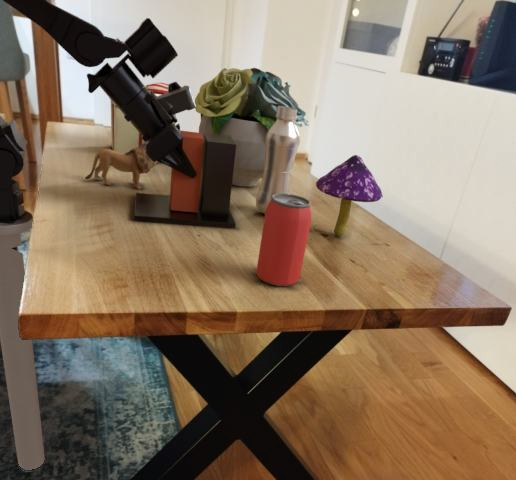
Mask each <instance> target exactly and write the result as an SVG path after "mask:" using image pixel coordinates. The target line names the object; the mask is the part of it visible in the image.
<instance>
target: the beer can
mask: <svg viewBox="0 0 516 480" xmlns="http://www.w3.org/2000/svg"><path fill="white" fill-rule="evenodd" d="M311 205H312V202H311V201H310V200H309V199H307V198H305V197H304V196H301V195H296V194H293V193H289V194H274V195H273V196H272V197H271V201H270V203H269V205H268V206H267V209H266V212H265V214H264V220H263V227H262V231H261V239H260V245H259V253H258V258H257V259H258V260H257V265H256V271H255V273H256V275H257V277H258V278H259V279H260V281H262V282H264V283H266V284H269V285H271V286H275V287H276V286H277V287H291V286H294V285H295V284H297V283H298V282H299V281H300V278H301V274H302V268H303V263H304V260H305V254H306V248H307V244H308V238H309V235H310V229H311V224H312V210H311Z"/></svg>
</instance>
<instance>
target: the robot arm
mask: <svg viewBox="0 0 516 480" xmlns="http://www.w3.org/2000/svg"><path fill="white" fill-rule="evenodd" d="M2 1H3V2H4V3H6V4H7V5H9V6H10V7H12V8H13V9H15V10H16V11H17V12H19V13H20V14H22V15H23V16H24V17H26V18H28V19H29V20H30V21H31V22H33V23H34V24H36V25H38V26H39V27H40V28H41V29H43V30H44V31H45V33H47V34H48V35H49V36H50V37H51V38H52V39H53V40H54V41H55V42H56V44H58V46H59V47H61V48H62V49H63V50H64V51H65V52H66V53H67V54H68V55H70V56H71V58H73V59H74V61H76V62H77V63H78V64H80V65H81V66H83V67H87V68H95V67H98V66H100V65H101V64H103V63H104V61H105V60H106V59H118V58H121V57H122V56H123V55H124V54H125V53H126V52H127V54H126V55H124V56H123V57H122V58H121V59H120V60H119V61H118V62H117V63H116V64H115V65H114V66H113V67H112V66H111V64H110V63H108V62H106V63H105V64H104V65H103V66H101V68H100V69H99V70H98V71H96V72H95V73H87V74H86V78H87V82H88V89H87V91H88V93H89V94H94V92H95V91H96V90H98V88H99V87H100V89H102V91H103V92H104V93H105V94H106V96H107V97H108V99H109V100H110V99H111V100H112V101H113V102H114V103H115V105H116V106H117V107H118V108H119V109H120V110H121V112H122V113H123V114H124V118H125V119H126V120H127V121H128V122H129V121H130V122H131V123H132V125H133V126H134V127H135V128H136V129H137V130H138V132H139V133H140V134H141V135H142V137H141V138H142V139H143V140H144V141H145V142H146V154H147V155H148V156H149V157H150V158H151V160H152V161H153V162H155V161H157V163H161V164H163V165H165V166H167V167H169V168H171V169H172V168H173V169H175V170H177V171H179V172H181V173H183V174H185V175H187V176H189V177H191V178H194V177H196V176H197V173H196V171H195V169H194V168H193V166H192V164H191V162H190V161H189V159H188V157H187V155H186V154H185V152H184V150H183V148H182V146H183V135H182V134H181V133H180V131H181V126H180V123H177V122H179V121H178V118H177V116H176V117H175V116H174V114H176V115H177V114H180V113H182V112H185V111H192V110H194V109H195V107H196V106H195V103H194V101H195V99H194V97H193V94H192V90H191V88H190V86H189V85H183V86H181V85H180V84H179V83H178V82H177V81H173V82H170V83H167V84H168V92H167V93H164V94H162V95H160V96H156V95H155V94H154V93H153V91H151V92H150V90H149V91H148V89H147V88H146V87H145V86H146V85H145V84H144V83H143V81H142V80H141V79H140V78H139V77H138V75H137V74H136V73H135V72H134V71H133V70H132V68H131V66H129V64H128V63H127V61H128V60H129V62H130V63H131V64H132V66H134V68H135V69H136V70H137V72H138V73H139V74H140V75H141V77H142V78H143V79H144V78H145V77H149V76H150V77H151V78H152V79H154V78H156V77H157V76H158V75H159V74H160V73H161V72H162V71H163V70H164V69H165V68H166V67H167V66H169V64H171V63H172V61H174V60H175V59H176V58H177V57H178V55H179V54H178V52H177V51H176V49H175V48H174V46H173V45H172V43H171V42H170V40H169V39H168V38H167V37H166V35H164V34H163V33H162V32H161V30H159V28H158V27H157V26H156V25H155V24H154V22H153V21H152V19H151V18H149V17H146V18H145V19H144V20H143V21H142V22H141V23H140V25H139V26H138V27H137V28H136V30H135V31H133V32H132V34H130V35H129V36H128V37H127V38H126V39H125V40H124V41H123V40H120V38H119V37H116V38H113V37H109V36H105V35H104V34H103V32H102V30H100V29H99V27H97V26H96V25H94V24H92V23H91V22H89V21H86V20H85V19H83V18H80V17H79V16H77V15H75V14H73V13H71V12H69V11H67V10H65V9H63V8H61V7H59V6H57V5H55V4H53V3H52V2H50V1H49V0H2ZM144 85H145V86H144ZM111 100H110V101H111ZM173 122H175V125H174V124H172V123H173ZM176 123H177V124H176ZM179 130H180V131H179ZM27 144H28V141H27V139H25V138H24V137H23V135H22V134H21V132H20V130H19V127H18V124H17V122H16V120H15V119H14V118H12V119H11V120H8V121H6V120H5V119H4V118H3V117H2V116H1V115H0V223H7V224H13V223H15V222H16V221H17V220H18V219H20V218H21V217H22V216H23V215H25V214H26V211H27V210H26V208H25V206H24V205H23V204H24V203H25V202H24V192H23V190H20V181H19V180H16V179H15V180H14V179H13V178H15V177H16V176H18V175H20V173H21V172H22V171H23V169H24V166H25V163H26V161H27V160H26V159H27V157H28V151H27V148H26V146H27ZM25 210H26V211H25Z"/></svg>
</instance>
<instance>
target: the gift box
mask: <svg viewBox="0 0 516 480" xmlns="http://www.w3.org/2000/svg"><path fill="white" fill-rule="evenodd" d="M168 84H169V83H165V82H154V83H150V84H144V86H145V87H146V88H147V89H148V91H149V90H150V92H151V91H153V93H154V94H155V95H156V96H160V95H162V94H164V93H167V92H168ZM109 100H110V143H111V144H110V146H111V148H112V149H111V150H113V151H115V152H118V153H127V152H129V151H130V150H132V149H133V148H136V147H139V146H140V145H142V144H143V143H144V142H145V141H144V140H143V139H142V138H141V137H142V135H141V134H140V133H139V132H138V130H137V129H136V128H135V127H134V126H133V125H132V123H131V122H130V121H129V122H128V121H127V120H126V119H125V118H124V114H123V113H122V112H121V110H120V109H119V108H118V107H117V106H116V105H115V103H114V102H113V101H112V100H111V99H110V98H109ZM176 115H177V114H174V116H175V117H176V118H177V116H176ZM172 124H174V125H175V126H176V123H175V122H173V123H172Z"/></svg>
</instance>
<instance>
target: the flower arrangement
mask: <svg viewBox="0 0 516 480" xmlns="http://www.w3.org/2000/svg"><path fill="white" fill-rule="evenodd" d="M288 83H289V82H288V81H286V82H284V86H283V85H282V84H283V81H282V78H280V76H278V75H276V74H274V73H272V72H271V71H264V70H261V69H259V68H257V67H251V68H245V69H239V68H232V67H231V68H228V69H227V68H225V67H224V68H222V69H220V71H219V72H218V74H217V75H216V76H215V77H213V78H212V79H211V80H209V81H207V82H205V83H203V84H201V86H200V88H199V92H198V93H197V94H196V96H195V98H194V103H195V106H196V107H195V108H194V109H195V112H196V113H197V114H200V123H199V126H198V133H201V134H202V136H203V133H212V134H220V135H229V136H231V138H232V139H233V140H234V142H235V143H236V154H235V162H234V171H233V180H232V186H237V187H245V188H251V187H255V186H257V185H258V184H259V181H260V180H262V176H263V172H264V166H265V164H264V163H265V142H266V141H265V140H266V134H267V132H268V130H269V129H270V127H271V126H272V125H273V124H274V123H275V122H276V120H277V117H276V114H277V107H278V106H285V107H291V108H295V109H297V115H296V117H297V119H296V120H295V121H294V124H295V126H296V127H299V128H302V127H303V124H304V126H307V127H309V126H310V124H309V120H307V119H306V118H304V117H305V116H306V115H307V113H306V111H304V110H303V109H301V108H300V106H299V104H298V102H297V101H296V100H295V99H294V98H293V96H291V94H290V88H291V85H290V84H288ZM299 122H301V123H299Z"/></svg>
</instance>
